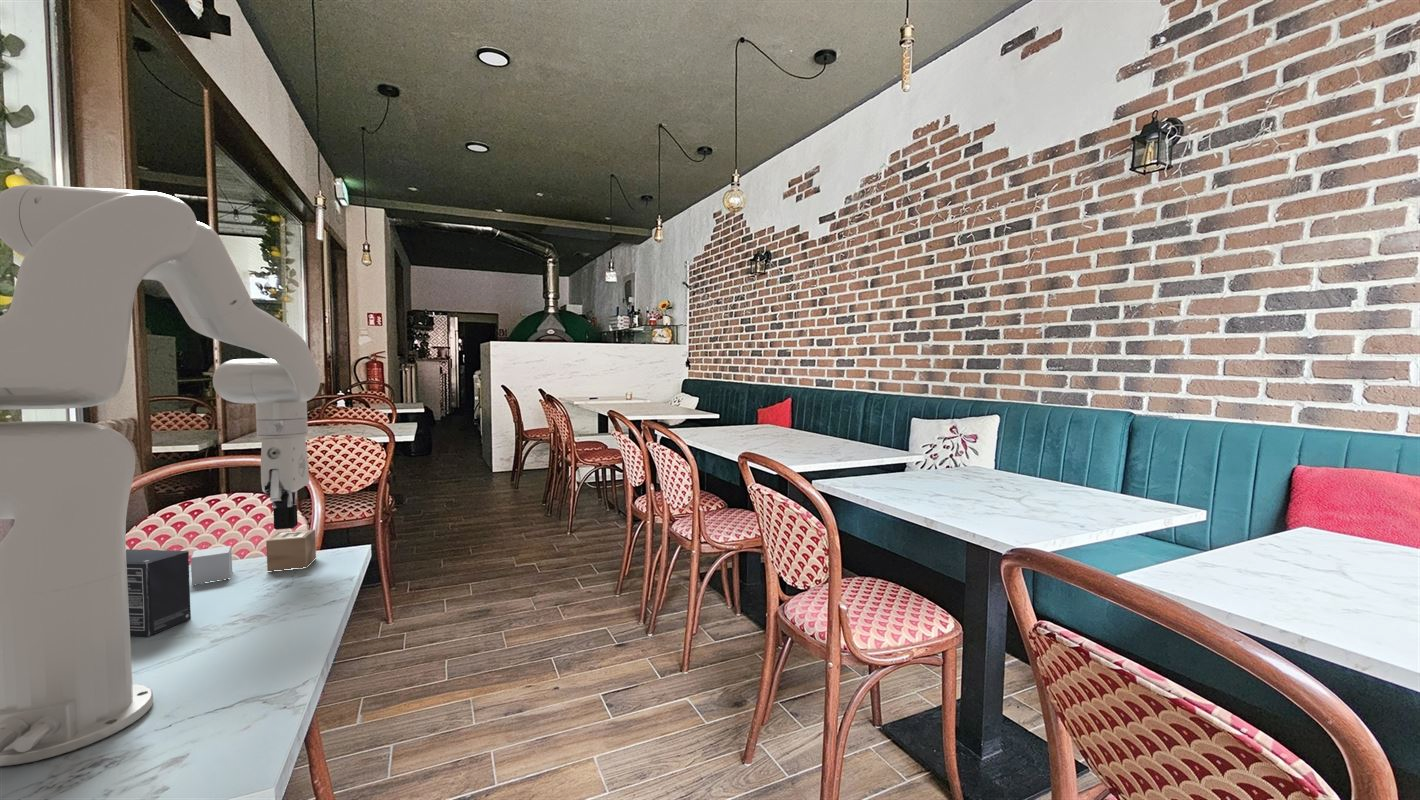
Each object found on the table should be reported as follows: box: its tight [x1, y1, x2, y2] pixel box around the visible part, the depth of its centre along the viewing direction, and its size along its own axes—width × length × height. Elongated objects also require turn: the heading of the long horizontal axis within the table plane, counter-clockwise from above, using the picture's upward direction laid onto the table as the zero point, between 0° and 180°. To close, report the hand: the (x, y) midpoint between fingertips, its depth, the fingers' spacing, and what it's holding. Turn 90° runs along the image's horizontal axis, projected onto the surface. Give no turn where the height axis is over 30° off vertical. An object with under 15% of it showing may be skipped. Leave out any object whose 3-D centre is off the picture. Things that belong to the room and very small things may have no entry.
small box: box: [126, 548, 192, 638], centre depth 83 cm, size 11×6×10 cm, turn 84°
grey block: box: [190, 545, 233, 586], centre depth 103 cm, size 5×5×5 cm
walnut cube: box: [265, 529, 317, 571], centre depth 110 cm, size 6×6×6 cm
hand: (286, 527), depth 107 cm, fingers closed
